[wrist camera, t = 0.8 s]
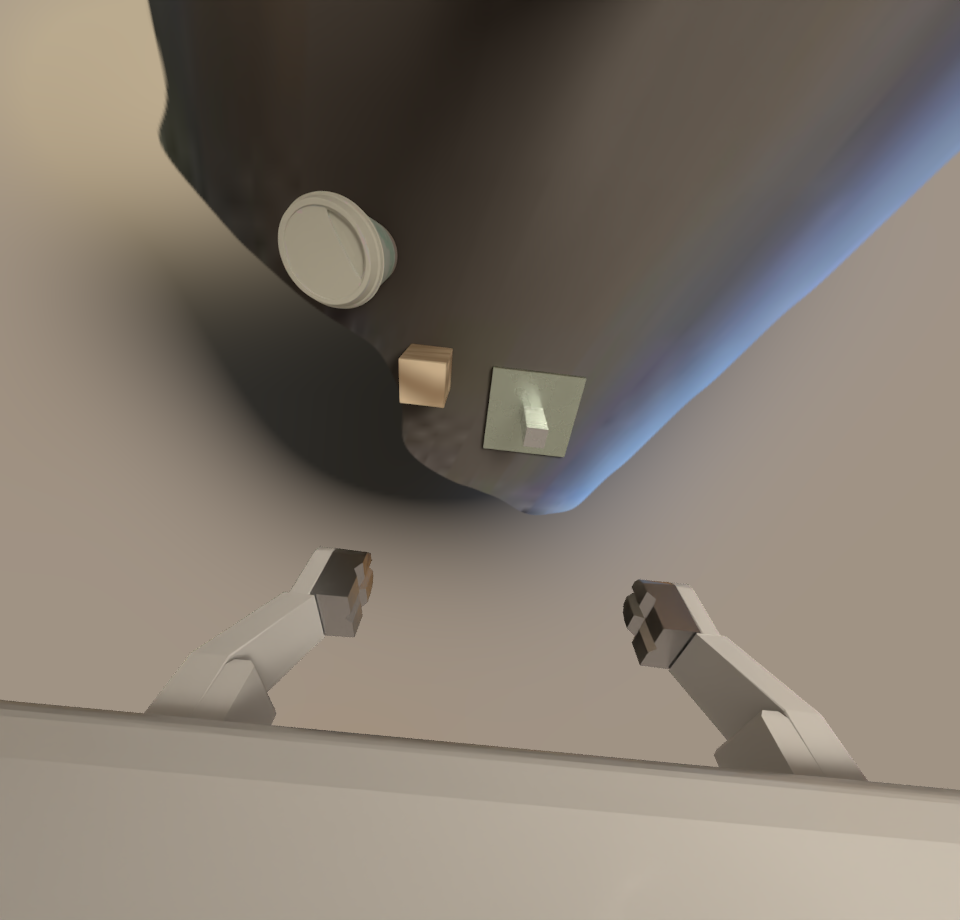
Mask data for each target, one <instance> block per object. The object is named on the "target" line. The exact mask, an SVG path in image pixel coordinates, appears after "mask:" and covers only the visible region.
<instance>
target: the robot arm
mask: <svg viewBox="0 0 960 920" xmlns="http://www.w3.org/2000/svg"><path fill="white" fill-rule="evenodd" d="M371 561H372V559H371V553H369V552H361V551H353V550H346V549H337V548H328V547H319V548H318V549H316V550H315V551H314V553H313V554H312V556H311V558H310V560H309V561H308V563H307V564H306V566H305V568H304V569H303V571H302V572H301V574H300V576H299V577H298V579H297V580H296V582H295V584H294V585H293V587H292V589H291V590H290V592H283V593H282V594H280V595H278V596H277V597H276V598H274V599H272V600H271V601H269V602H268V603H266V604H265V605H263V606H262V607H260V608H259V609H257V610H256V611H254V612H252V613H251V614H249V615H248V616H246V617H245V618H244V619H242V620H240V621H239V622H237V623H236V624H234V625H233V626H231V627H229V628H228V629H226V630H225V631H224V632H222V633H220V634H219V635H217V636H216V637H214V638H213V639H211V640H210V641H208V642H207V643H205V644H203V645H202V646H200V647H199V648H197V649H196V650H194V651H193V652H191V653H190V654H189V656H188V657H187V658H186V660H185V661H184V662H183V663H182V665H181V666H180V667H179V669H178V670H177V671H176V672H175V674H174V675H173V676H172V678H171V679H170V680H169V682H168V683H167V684H166V686H165V687H164V688H163V690H162V691H161V692H160V693H159V695H158V696H157V697H156V699H155V700H154V701H153V703H152V704H151V705H150V706H149V707H148V709H147V710H146V711H145V713H134V712H123V711H113V710H102V709H91V708H80V707H69V706H59V705H47V704H36V703H25V702H16V701H5V700H0V920H960V790H954V789H943V788H933V787H922V786H911V785H901V784H891V783H880V782H869V781H868V780H867V779H866V778H865V776H864V775H863V774H862V772H861V771H860V769H859V768H858V766H857V765H856V763H855V762H854V761H853V759H852V758H851V756H850V755H849V753H848V752H847V751H846V749H845V748H844V746H843V745H842V744H841V742H840V741H839V739H838V738H837V736H836V735H835V733H834V732H833V731H832V729H831V728H830V726H829V725H828V723H827V722H826V721H825V719H824V718H823V716H822V715H821V714H820V713H819V712H817V711H816V710H815V709H814V708H813V707H811V706H810V705H809V704H808V703H806V702H805V701H804V700H803V699H801V698H800V697H799V696H798V695H797V694H796V693H794V692H793V691H792V690H791V689H789V688H788V687H787V686H786V685H785V684H783V683H782V682H781V681H780V680H779V679H777V678H776V677H775V676H774V675H772V674H771V673H770V672H769V671H767V670H766V669H765V668H764V667H763V666H761V665H760V664H759V663H758V662H757V661H755V660H754V659H753V658H752V657H750V656H749V655H748V654H747V653H746V652H744V651H743V650H742V649H741V648H739V647H738V646H737V645H736V644H735V643H733V642H732V641H731V640H730V639H728V638H727V637H726V636H721V635H720V634H719V632H718V631H717V629H716V627H715V625H714V624H713V622H712V620H711V619H710V617H709V615H708V614H707V612H706V610H705V609H704V607H703V605H702V603H701V602H700V600H699V599H698V597H697V595H696V594H695V592H694V590H693V588H692V587H691V586H689V585H688V584H679V583H669V582H661V581H650V580H637V581H635V582H634V584H633V586H632V589H633V592H634V593H632V594H630V595H629V596H627V597H626V600H625V602H624V606H623V607H624V608H623V615H624V621H625V624H626V627H627V629H628V630H629V631H630V632H631V633H632V634H633V635H634V639H633V641H632V644H633V647H634V649H635V653H636V655H637V658H638V661H639V664H640V665H641V666H650V667H657V668H665V669H669V672H670V673H671V674H672V675H673V676H674V678H675V679H676V680H677V681H678V682H679V683H680V685H681V686H682V687H683V688H684V689H685V691H686V692H687V693H688V694H689V695H690V696H691V698H692V699H693V700H694V701H695V702H696V704H697V705H698V706H699V707H700V708H701V710H702V711H703V712H704V713H705V714H706V716H707V717H708V718H709V719H710V720H711V721H712V723H713V724H714V725H715V726H716V727H717V728H718V730H719V731H720V732H721V733H722V734H723V736H724V737H725V738H726V739H727V741H726V742H725V743H724V744H722V745H721V746H720V747H719V748H718V749H717V750H716V752H715V754H714V756H715V759H716V761H717V763H718V766H719V767H710V766H699V765H688V764H678V763H668V762H657V761H646V760H636V759H624V758H615V757H603V756H593V755H583V754H572V753H562V752H551V751H540V750H529V749H519V748H508V747H498V746H486V745H476V744H466V743H455V742H444V741H434V740H423V739H412V738H401V737H391V736H380V735H370V734H359V733H348V732H337V731H326V730H316V729H304V728H295V727H294V728H293V727H284V726H272V725H271V724H272V722H273V720H274V718H275V716H276V712H275V708H274V706H273V704H272V702H271V700H270V698H269V696H268V694H267V692H268V691H269V690H270V689H271V688H272V687H273V686H274V685H275V684H276V683H277V682H278V681H279V680H280V679H281V678H282V677H283V676H284V675H285V674H286V673H288V672H289V671H290V670H291V669H292V668H293V667H294V666H295V665H296V664H297V663H298V662H299V661H300V660H301V659H302V658H303V657H304V656H305V655H306V654H307V653H308V652H309V651H311V649H313V648H314V647H315V646H316V645H317V644H318V643H319V642H320V641H321V640H322V639H323V638H324V635H329V636H344V637H355V634H356V632H357V629H358V626H359V624H360V621H361V618H362V609H361V607H362V606H363V605H365V604H366V603H367V602H368V599H369V596H370V594H371V589H372V584H373V571H372V570H371V569H370V568H369V566H370V564H371Z"/></svg>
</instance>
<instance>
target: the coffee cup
mask: <svg viewBox="0 0 960 920" xmlns="http://www.w3.org/2000/svg"><path fill="white" fill-rule="evenodd" d="M278 246H279V252H280V256H281V259H282V262H283V264H284V267H285V269H286V271H287V272H288V274H289V276H290V277H291V279H292V280H293V281H294V283H295V284H296V285H297V286H298V287H299V288H300V289H301V290H302V291H303V292H304V293H306V294H307V295H308V296H310V297H311V298H313V299H315V300H316V301H318V302H320V303H322V304H324V305H327V306H330V307H334V308H342V309H349V308H355V307H358V306H361V305H363V304H365V303H366V302H368V301H369V300H370V299H371V298H372V297H373V296H374V295H375V293H376V292H377V290H378V289H379V287H380V285H381V284H382V283H383V282H384V281H385V280H386V279H387V278H388V277H389V276H390V275H391V274H392V273H393V272H394V270H395V267H396V264H397V248H396V245H395V242H394V240H393V238H392V236H391V234H390V233H389V232H388V231H387V229H385V228H384V227H383V226H382V225H380V224H379V223H378V222H376V221H375V220H373V219H371V218H370V217H368V216H367V215H366V214H365V213H364V211H363V210H362V209H361V208H360V207H358V206H357V205H356V204H355V203H354V202H352V201H351V200H349V199H348V198H346V197H344V196H342V195H340V194H337V193H334V192H329V191H315V192H311V193H307V194H305V195H302V196H300V197H299V198H297V199H296V200H295V201H294V202H293V203H292V204H291V205H290V206H289V208H288V209H287V210H286V212H285V213H284V215H283V217H282V219H281V222H280V225H279V230H278Z"/></svg>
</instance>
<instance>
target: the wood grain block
mask: <svg viewBox="0 0 960 920" xmlns="http://www.w3.org/2000/svg"><path fill="white" fill-rule="evenodd" d="M452 352H453V349H452V348H444V347H435V346H427V345H419V344H411V345H410V346H409V347H408V348H407V349H406V351H405V352H404V353H403V354H402V355H401V356H400V358H399V395H400V403H407V404H415V405H424V406H433V407H441V408H444V405H445V402H446V399H447V396H448V393H449V390H450V385H451V368H452Z"/></svg>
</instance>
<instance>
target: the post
mask: <svg viewBox="0 0 960 920" xmlns="http://www.w3.org/2000/svg"><path fill="white" fill-rule="evenodd" d="M585 382H586V377H581V376H573V375H564V374H556V373H547V372H539V371H531V370H522V369H514V368H505V367H497V366H494V367H493V375H492V382H491V390H490V398H489V406H488V413H487V421H486V429H485V437H484V445H483V448H488V449H497V450H505V451H514V452H523V453H532V454H540V455H549V456H558V457H564V456H565V452H566V449H567V445H568V442H569V438H570V435H571V431H572V428H573V424H574V421H575V417H576V414H577V410H578V407H579V403H580V400H581V396H582V393H583V389H584V386H585Z"/></svg>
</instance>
